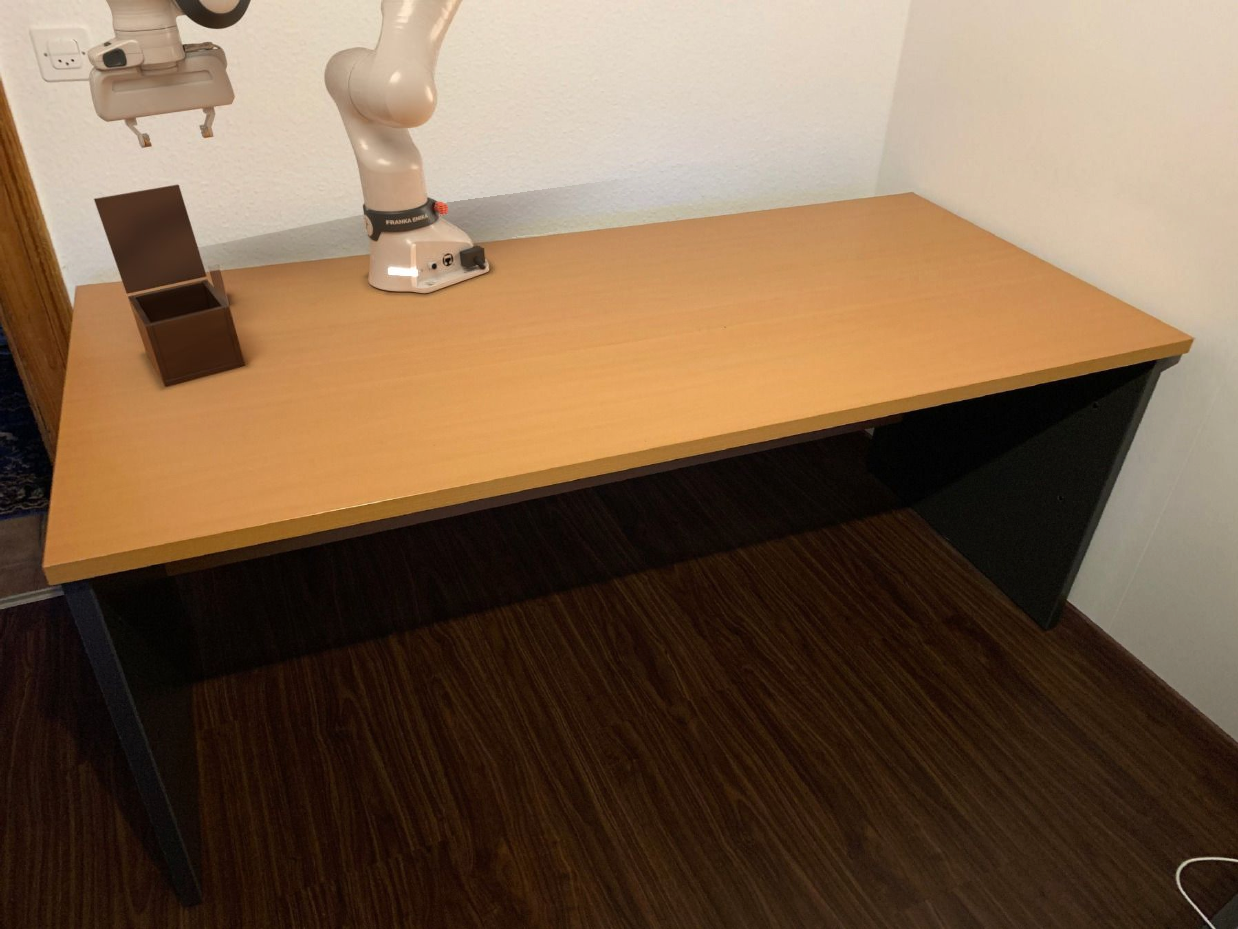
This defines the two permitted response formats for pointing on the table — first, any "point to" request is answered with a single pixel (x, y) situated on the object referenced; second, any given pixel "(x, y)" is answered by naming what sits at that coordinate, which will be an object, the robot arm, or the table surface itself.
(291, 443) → the table surface
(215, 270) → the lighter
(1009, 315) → the table surface
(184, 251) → the lid
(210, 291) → the chest
